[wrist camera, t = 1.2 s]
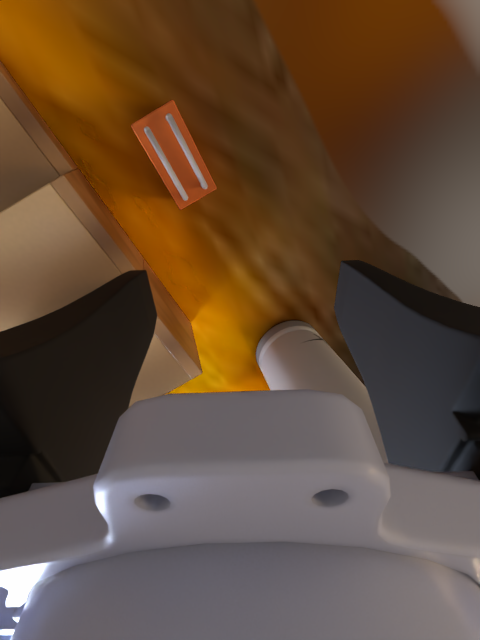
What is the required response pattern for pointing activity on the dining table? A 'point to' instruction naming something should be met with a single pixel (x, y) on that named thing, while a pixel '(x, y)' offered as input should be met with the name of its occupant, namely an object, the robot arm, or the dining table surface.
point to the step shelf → (71, 243)
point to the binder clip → (174, 154)
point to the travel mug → (311, 368)
